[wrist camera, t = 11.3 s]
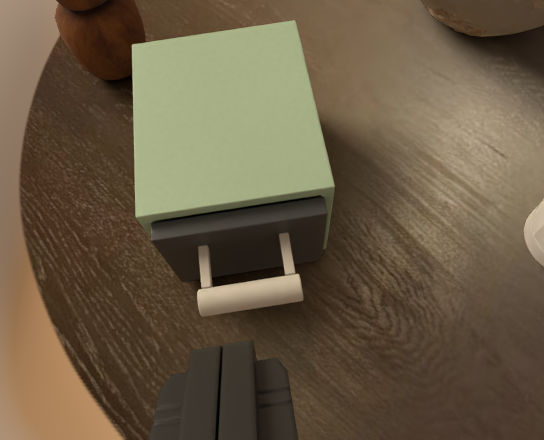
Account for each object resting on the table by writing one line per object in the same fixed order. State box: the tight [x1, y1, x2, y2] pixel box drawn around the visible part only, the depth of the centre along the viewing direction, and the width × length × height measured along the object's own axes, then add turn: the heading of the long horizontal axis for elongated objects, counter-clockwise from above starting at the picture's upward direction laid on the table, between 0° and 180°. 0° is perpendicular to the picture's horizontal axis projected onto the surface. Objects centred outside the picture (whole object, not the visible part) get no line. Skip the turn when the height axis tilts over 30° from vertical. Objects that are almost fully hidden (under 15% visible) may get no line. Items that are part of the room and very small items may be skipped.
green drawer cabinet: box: [132, 20, 335, 249], centre depth 34 cm, size 14×12×10 cm
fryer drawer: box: [151, 197, 328, 317], centre depth 32 cm, size 17×10×8 cm, turn 8°
